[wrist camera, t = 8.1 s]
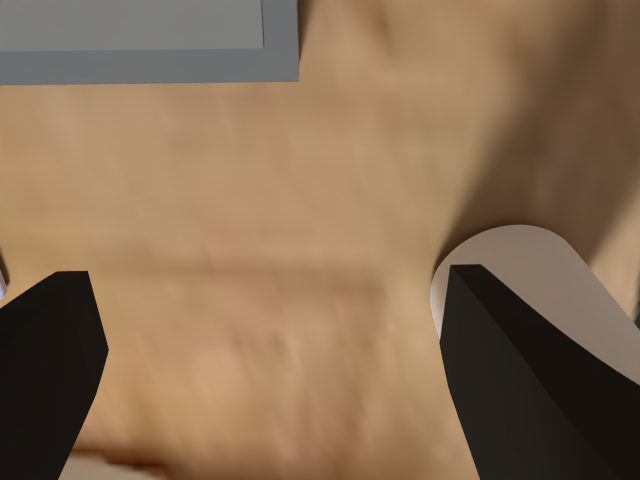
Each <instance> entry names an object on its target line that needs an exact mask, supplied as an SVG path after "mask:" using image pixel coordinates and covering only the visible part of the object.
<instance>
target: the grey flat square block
mask: <svg viewBox="0 0 640 480" xmlns="http://www.w3.org/2000/svg"><path fill="white" fill-rule="evenodd" d="M299 65H300V57H299V18H298V0H0V85H68V84H146V83H225V82H299Z"/></svg>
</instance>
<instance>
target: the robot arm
mask: <svg viewBox="0 0 640 480" xmlns="http://www.w3.org/2000/svg"><path fill="white" fill-rule="evenodd" d="M6 293H7V287H6V284H5V281H4V278H3V276H2V273H1V270H0V300H1V299H3V297H4V296H5V295H6ZM440 349H441V354H442V359H443V364H444V369H445V374H446V378H447V383H448V387H449V390H450V393H451V397H452V400H453V402H454V405H455V408H456V411H457V414H458V417H459V420H460V423H461V426H462V429H463V432H464V434H465V437H466V440H467V443H468V446H469V449H470V452H471V455H472V457H473V460H474V463H475V466H476V469H477V472H478V475H479V477H480V480H640V385H639V384H637V383H636V382H634V381H632V380H631V379H629V378H628V377H626V376H624V375H623V374H621V373H620V372H618V371H616V370H615V369H613V368H612V367H610V366H609V365H607V364H606V363H604V362H603V361H601V360H600V359H599V358H597V357H596V356H594V355H593V354H592V353H590V352H589V351H588V350H586V349H585V348H583V347H582V346H581V345H579V344H578V343H577V342H575V341H574V340H572V339H571V338H570V337H568V336H567V335H566V334H565V333H563V332H562V331H561V330H559V329H558V328H557V327H555V326H554V325H553V324H552V323H550V322H549V321H548V320H547V319H545V318H544V317H543V316H542V315H541V314H539V313H538V312H537V311H536V310H534V309H533V308H532V307H531V306H530V305H528V304H527V303H526V302H525V301H524V300H523V299H521V298H520V297H519V296H518V295H517V294H516V293H514V292H513V291H512V290H511V289H510V288H509V287H507V286H506V285H505V284H504V283H503V282H502V281H500V280H499V279H498V278H497V277H496V276H495V275H493V274H492V273H491V272H490V271H489V270H488V269H486V268H485V267H484V266H482V265H481V264H457V265H450V270H449V277H448V284H447V292H446V299H445V306H444V314H443V321H442V328H441V336H440ZM108 351H109V349H108V345H107V341H106V337H105V334H104V330H103V326H102V322H101V319H100V315H99V311H98V308H97V304H96V300H95V296H94V293H93V289H92V285H91V282H90V278H89V274H88V271H57V272H55V273H53V274H52V275H50V276H48V277H46V278H45V279H43V280H42V281H40V282H39V283H37V284H36V285H34V286H33V287H31V288H30V289H28V290H27V291H25V292H24V293H22V294H21V295H19V296H18V297H16V298H15V299H13V300H12V301H11V302H9V303H8V304H6V305H5V306H3V307H2V308H0V480H58V478H59V476H60V474H61V472H62V470H63V467H64V465H65V463H66V461H67V459H68V457H69V454H70V452H71V450H72V448H73V446H74V443H75V441H76V439H77V437H78V434H79V432H80V430H81V428H82V426H83V423H84V421H85V419H86V416H87V414H88V412H89V410H90V407H91V405H92V403H93V400H94V398H95V396H96V393H97V390H98V386H99V383H100V380H101V376H102V373H103V369H104V366H105V362H106V358H107V355H108Z"/></svg>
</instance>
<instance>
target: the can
mask: <svg viewBox="0 0 640 480" xmlns="http://www.w3.org/2000/svg"><path fill="white" fill-rule="evenodd" d="M457 264H481V265H482V266H484V267H485V268H486V269H488V270H489V271H490V272H491V273H492V274H493V275H495V276H496V277H497V278H498V279H499V280H500V281H502V282H503V283H504V284H505V285H506V286H507V287H509V288H510V289H511V290H512V291H513V292H514V293H516V294H517V295H518V296H519V297H520V298H521V299H523V300H524V301H525V302H526V303H527V304H528V305H530V306H531V307H532V308H533V309H534V310H536V311H537V312H538V313H539V314H541V315H542V316H543V317H544V318H545V319H547V320H548V321H549V322H550V323H552V324H553V325H554V326H555V327H557V328H558V329H559V330H561V331H562V332H563V333H565V334H566V335H567V336H568V337H570V338H571V339H572V340H574V341H575V342H577V343H578V344H579V345H581V346H582V347H583V348H585V349H586V350H588V351H589V352H590V353H592V354H593V355H594V356H596V357H597V358H599V359H600V360H601V361H603V362H604V363H606V364H607V365H609V366H610V367H612V368H613V369H615V370H616V371H618V372H620V373H621V374H623V375H624V376H626V377H628V378H629V379H631V380H632V381H634V382H636V383H637V384H639V385H640V331H639V329H638V328H637V327H636V326H635V324H634V323H633V322H632V320H631V319H630V318H629V317H628V315H627V314H626V313H625V312H624V310H623V309H622V308H621V307H620V305H619V304H618V303H617V302H616V300H615V299H614V298H613V297H612V295H611V294H610V293H609V292H608V290H607V289H606V288H605V287H604V286H603V284H602V283H601V282H600V281H599V279H598V278H597V277H596V276H595V274H594V273H593V272H592V271H591V269H590V268H589V267H588V266H587V264H586V263H585V262H584V261H583V260H582V258H581V257H580V256H579V255H578V253H577V252H576V251H575V250H574V249H573V248H572V247H571V245H570V244H569V243H568V242H566V241H565V240H564V239H563V238H562V237H560V236H559V235H557V234H556V233H554V232H552V231H549V230H547V229H544V228H541V227H536V226H530V225H508V226H501V227H497V228H493V229H489V230H486V231H484V232H481V233H479V234H477V235H475V236H473V237H471V238H469V239H467V240H466V241H464V242H463V243H461V244H460V245H459V246H457V247H456V248H455V249H454V250H453V251H452V252H451V253H450V254H449V255H448V256H447V257H446V258H445V259H444V260H443V261H442V263H441V264H440V265H439V267H438V268H437V270H436V272H435V274H434V277H433V280H432V283H431V289H430V304H431V310H432V314H433V318H434V322H435V325H436V328H437V332H438V335H439V338H440V336H441V328H442V321H443V314H444V306H445V299H446V292H447V284H448V277H449V270H450V265H457Z"/></svg>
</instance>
